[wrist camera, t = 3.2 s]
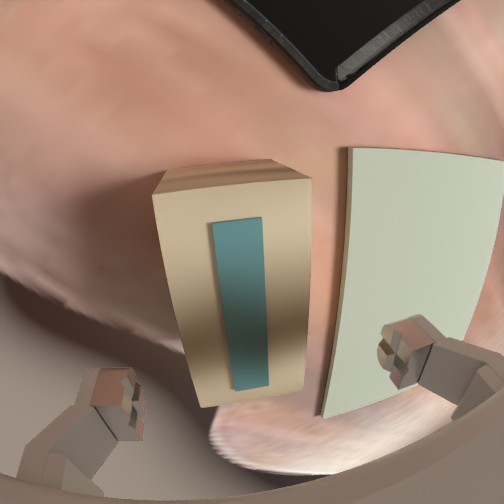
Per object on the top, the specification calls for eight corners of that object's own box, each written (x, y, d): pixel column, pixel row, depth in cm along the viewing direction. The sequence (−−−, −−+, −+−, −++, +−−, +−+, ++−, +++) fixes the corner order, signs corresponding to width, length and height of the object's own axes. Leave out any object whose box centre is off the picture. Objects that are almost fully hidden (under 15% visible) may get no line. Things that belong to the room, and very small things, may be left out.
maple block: (167, 169, 12) (151, 196, 8) (269, 158, 13) (313, 179, 8) (195, 336, 16) (201, 410, 11) (275, 324, 17) (304, 392, 12)
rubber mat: (347, 147, 13) (353, 147, 13) (502, 160, 15) (506, 162, 15) (320, 414, 21) (322, 419, 21) (446, 367, 23) (448, 370, 23)
